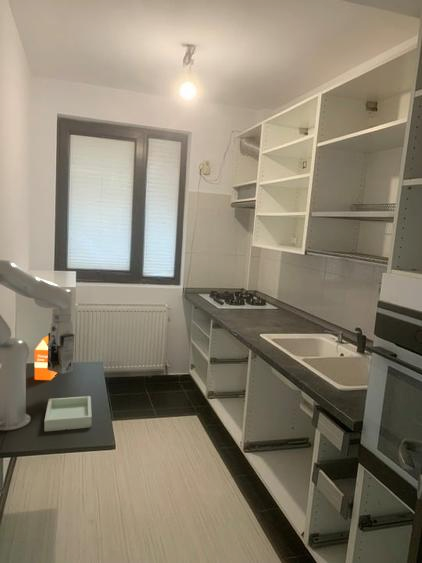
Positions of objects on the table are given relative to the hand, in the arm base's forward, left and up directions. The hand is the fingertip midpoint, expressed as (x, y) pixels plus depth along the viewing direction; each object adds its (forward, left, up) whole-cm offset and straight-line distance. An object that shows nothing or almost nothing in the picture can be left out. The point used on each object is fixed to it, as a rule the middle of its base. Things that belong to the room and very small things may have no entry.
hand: (60, 358), depth 173 cm
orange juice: (+18, +22, -17) cm, 33 cm away
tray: (-15, -16, -17) cm, 28 cm away
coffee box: (0, 0, -5) cm, 5 cm away
